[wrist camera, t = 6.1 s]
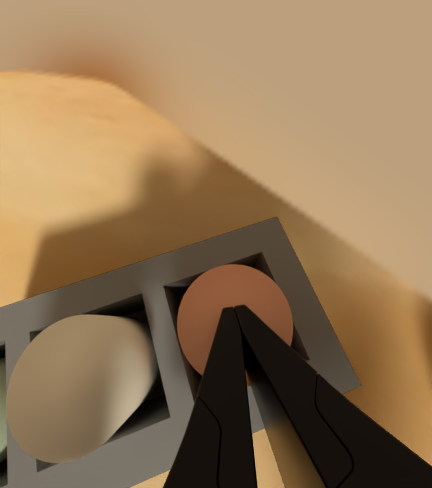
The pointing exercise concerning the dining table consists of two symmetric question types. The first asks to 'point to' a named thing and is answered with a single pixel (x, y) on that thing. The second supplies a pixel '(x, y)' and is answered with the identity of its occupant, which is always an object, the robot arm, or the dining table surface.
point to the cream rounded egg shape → (80, 384)
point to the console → (163, 351)
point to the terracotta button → (226, 295)
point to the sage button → (3, 411)
